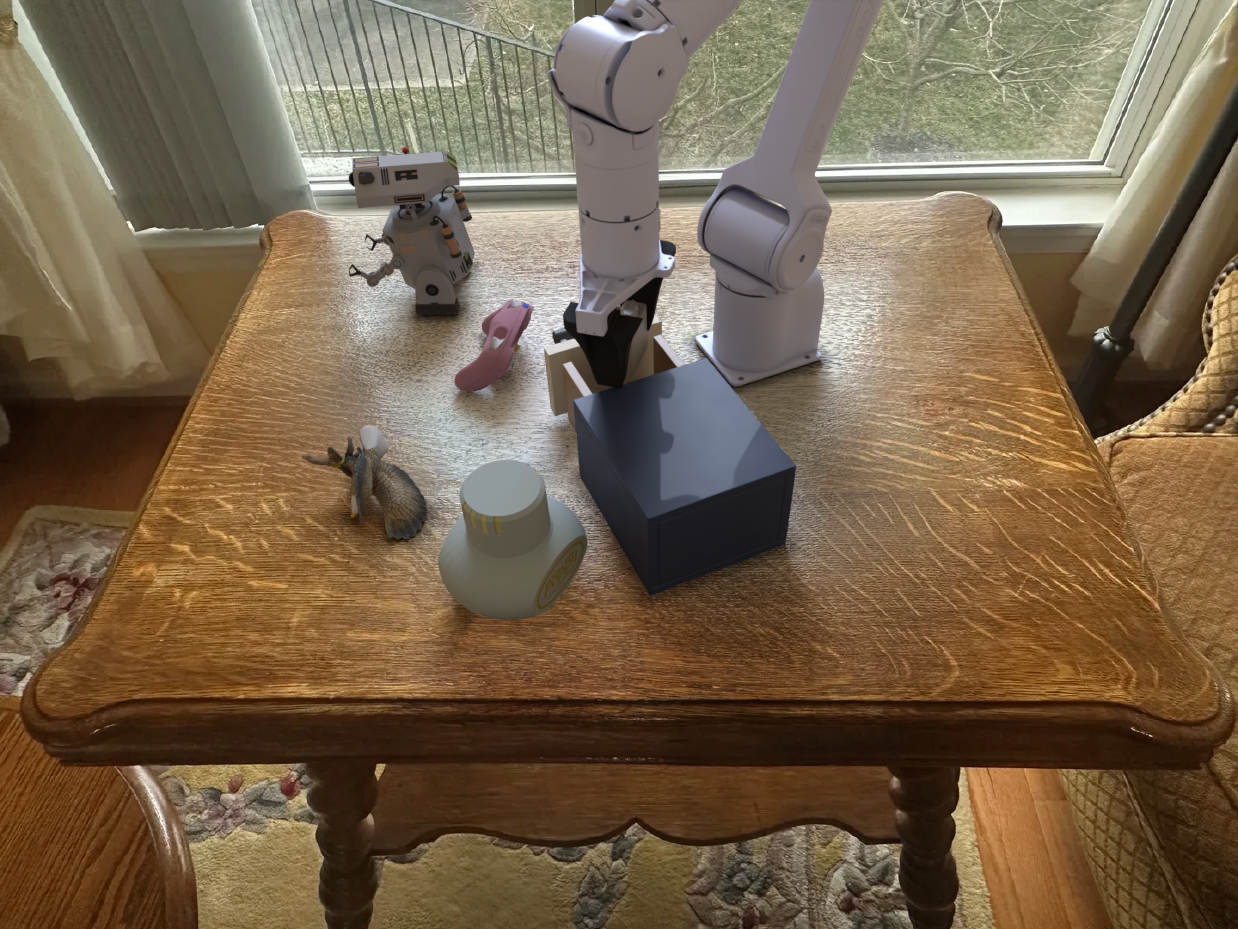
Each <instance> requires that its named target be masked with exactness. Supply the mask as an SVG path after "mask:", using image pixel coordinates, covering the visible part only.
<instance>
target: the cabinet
mask: <svg viewBox="0 0 1238 929" xmlns="http://www.w3.org/2000/svg"><path fill="white" fill-rule="evenodd" d="M573 406H574V417H575V428H576V433H575V436H576V437H575V438H576V448H577V456H578V457H577V458H578V459H577V460H578V469H579V478H580V480H581V481H582V483H583V485H584V486H585V488H586V490H587V492H588V493H589V495H590V497H591V499H592V500H593V502H594V504H595V505H596V507H597V509H598V511H599V512H600V514H601V516H602V518H603V519H604V521H605V523H606V524H607V526H608V528H609V530H610V531H611V533H612V535H613V536H614V538H615V540H616V542H617V543H618V545H619V547H620V548H621V550H622V552H623V553H624V555H625V557H626V559H627V561H628V563H629V564H630V565H631V567H632V569H633V571H634V572H635V574H636V576H637V577H638V579H639V581H640V583H641V585H642V586H643V588H644V590H645V591H646V594H648V596H649V597H652V596H654V595H657V594H660V593H662V592H664V591H667V590H670V589H673V588H675V587H677V586H681V585H683V584H685V583H688V582H691V581H693V580H697V579H699V578H702V577H703V576H706V575H709V574H712V573H714V572H717V571H720V570H723V569H725V568H727V567H730V566H733V565H735V564H737V563H741V562H744V561H746V560H749V559H751V558H754V557H757V556H759V555H761V554H764V553H766V552H770V551H772V550H775V549H777V548H779V547H782V546H785V545H786V543H787V539H788V538H787V537H788V532H789V525H790V517H791V509H792V502H793V496H794V495H793V494H794V489H795V488H794V487H795V480H796V472H797V465H796V464H795V462H794V461H793V460H792V459H791V457H790V456H789V455H788V454H787V453H786V451H785V450H784V449H783V448H782V447H781V445H780V444H779V443H778V442H777V441H776V439H775V438H774V437H773V436H772V434H771V433H770V432H769V431H768V430H767V429H766V427H765V426H764V425H763V423H761V421H760V420H759V419H758V417H757V416H756V415H755V414H754V412H752V410H751V409H750V408H749V407H748V405H747V404H746V403H745V402H744V400H743V399H742V398H741V397H740V396H739V395H738V394H737V392H736V391H735V390H734V388H732V385H731V384H730V383H729V382H728V381H727V379H726V378H725V377H724V376H723V375H722V373H721V372H720V371H719V370H718V369H717V367H716V366H715V365H714V364H713V362H712V361H711V360H710V359H709V358H708V357H705V358H702V359H699V360H696V361H692V362H689V363H685V365H683V366H680V367H676V368H673V369H670V370H667V371H664V372H661V373H657V374H654V375H651V376H648V377H645V378H641V379H638V380H635V381H632V382H629V383H626V384H623V386H622V388H615V387H613V388H610V389H606V390H603V391H600V392H597V393H594V394H591V395H587V396H584V397H581V398H578V399H575V400H573Z"/></svg>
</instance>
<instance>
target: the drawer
mask: <svg viewBox="0 0 1238 929" xmlns="http://www.w3.org/2000/svg"><path fill="white" fill-rule="evenodd" d="M551 337H552V341H553V343H554V344H551V345H548V346H544V347H543V354H544V363H545V372H546V381H547V388H548V397H549V405H550V406H549V407H550V410H551V411H552V413H553V415H554V417H557V416H561V415H564V414H567V422H568V423H569V424H570V426H571V428H572V429H573V431H574V432H575V434H576V428H575V417H574V406H573V400H575V399H578V398H581V397H584V396H587V395H591V394H594V393H597V392H600V391H603V390H606V389H610V388H613V387H609V386H603V385H598V384H597V382H596V380H595V378H594V375H593V373H592V370H591V368H590V365H589V363H588V360H587V358H586V356H585V354H584V352H583V350H582V348H581V347H580V345H579V344H578V343H577V341H576V340H575V339H574V338H573V337H572V336H571V335H570V334H569V333H568V332H567V331H566V330H565V328H564V327H563V328H560V329H557V330H553V331H552V333H551ZM683 365H686V363H685V362H684V361H683V359H682V358H681V357H680V356H679V355H678V353H677V351H675V349H673V347H672V346H671V345H670V342H668V340H667V339H666V338H665V337H664V336H663V321H662V319H660V317H659V316H658V315H657V314H655V315H654V319H653V322H652V325H651V327H650V329H649V331H647V349H646V351H645V353H644V355H643V357H642V359H641V361H640V363H639V365H638V367H637V369H636V371H635V373H634V375H632V376H627V375H626V378H625V381H624V383H623V384H626V383H629V382H632V381H635V380H638V379H641V378H645V377H648V376H651V375H654V374H657V373H661V372H664V371H667V370H670V369H673V368H676V367H680V366H683Z"/></svg>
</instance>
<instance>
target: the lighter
mask: <svg viewBox="0 0 1238 929" xmlns="http://www.w3.org/2000/svg"><path fill="white" fill-rule="evenodd" d="M618 309H620V310H621V315H627V316H633V317H639V318H643V320H642V322H641V324H640V326H639V328H638V330H637V332H636V334H635V335H634V337H633V340H632V343H631V347H630V352H629V360H628V368H627V374H626V375H627V376H632V375H634V373H635V371H636V369H637V367H638V365H639V363H640V361H641V359H642V357H643V355H644V353H645V351H646V349H647V309H646V304H644V303H638V302H635V301H634V300H631V301H629V300H625V302H624V303H623V305H622V307H620V306H618V307H617V310H618Z"/></svg>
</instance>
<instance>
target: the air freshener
mask: <svg viewBox="0 0 1238 929" xmlns="http://www.w3.org/2000/svg"><path fill="white" fill-rule="evenodd" d="M458 496H459V502H460V508H461V511H462V514H461V515H460V517H459V518H458V519H457V520H456V522H455V523H454V524H453V526H452V527H451V529H450V530H449V532H448V534H447V535H446V537H445V538H444V541H443V543H442V544H441V548H440V550H439V554H438V559H437V563H438V571H439V575H440V578H441V581H442V583H443V585H444V587H445V588H446V590H447V592H448V593H449V595H450V596H451V597H452V598H453V599H454V600H455V601H456V602H457V603H458V604H460V606H462V607H464V608H465V609H466V610H468V611H470V612H471V613H474V614H476V615H478V616H481V617H484V618H488V619H491V620H497V621H498V620H500V621H519V620H525V619H529V618H533V617H537V616H539V615H542V614H544V613H546V612H547V611H549V609H551V608H552V607H553V606H554V605H555V604H556V603H557V601H559V599H560V598H561V597H563V596H562V595H563V594H564V593H565V592H566V590H567V589H568V588H569V586H570V584H571V583H572V581H573V580H574V578H575V577H576V575H577V573H578V571H579V570H580V567H581V565H582V563H583V561H584V559H585V556H586V553H587V549H588V537H587V533H586V530H585V528H584V525H583V524H582V522H581V520H580V519H579V517H577V515H576V514H575V512H574V511H572V510H571V509H570V507H568V506H567V505H566V504H564V503H563V502H561V501H560V500H558V499H557V498H555V497H553V496H550V495H548V493H547V489H546V483H545V479H544V477H543V475H542V474H541V473H540V471H539V470H537V469H536V468H535V467H533V466H531V465H530V464H529V463H526V462H524V461H518V460H515V459H499V460H494V461H490V462H486V463H485V464H482V465H480V466H479V467H477V468H475V469H474V470H472V472H470V473H469V474H468V475H467V476H466V478H464V480H463V481H462V484H461V486H460V489H459V495H458Z"/></svg>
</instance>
